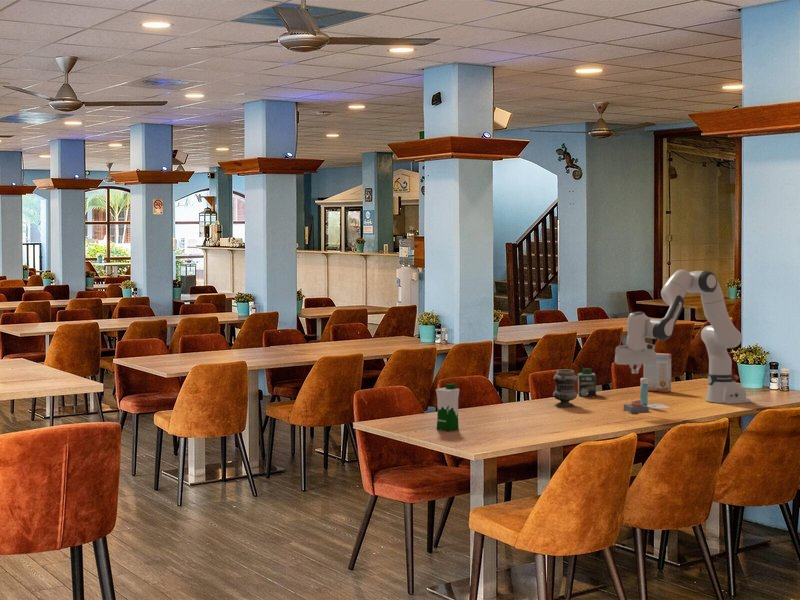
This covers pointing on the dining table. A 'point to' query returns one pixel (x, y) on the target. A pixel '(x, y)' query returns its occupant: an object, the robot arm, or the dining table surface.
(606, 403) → the dining table surface
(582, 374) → the chalk box
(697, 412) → the dining table surface
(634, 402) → the button
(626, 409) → the button housing
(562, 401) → the apothecary jar
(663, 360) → the cracker box
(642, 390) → the marker
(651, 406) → the picture board
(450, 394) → the milk carton
